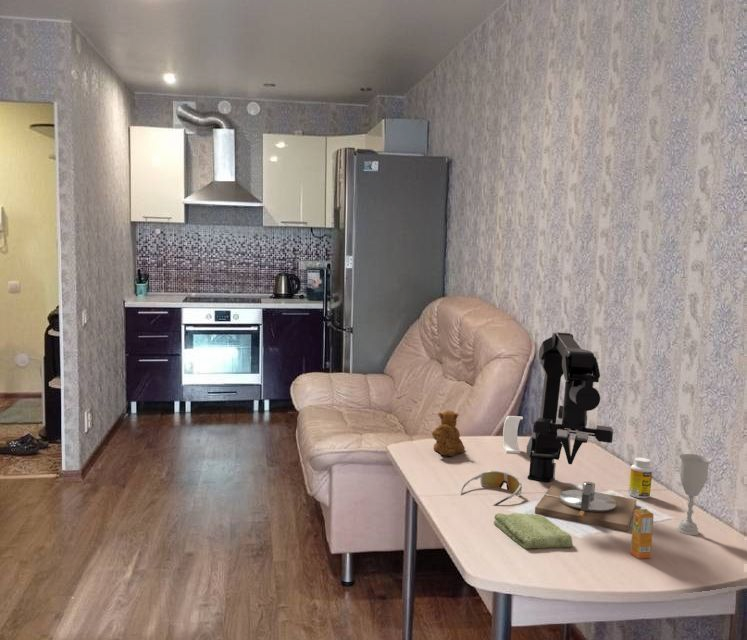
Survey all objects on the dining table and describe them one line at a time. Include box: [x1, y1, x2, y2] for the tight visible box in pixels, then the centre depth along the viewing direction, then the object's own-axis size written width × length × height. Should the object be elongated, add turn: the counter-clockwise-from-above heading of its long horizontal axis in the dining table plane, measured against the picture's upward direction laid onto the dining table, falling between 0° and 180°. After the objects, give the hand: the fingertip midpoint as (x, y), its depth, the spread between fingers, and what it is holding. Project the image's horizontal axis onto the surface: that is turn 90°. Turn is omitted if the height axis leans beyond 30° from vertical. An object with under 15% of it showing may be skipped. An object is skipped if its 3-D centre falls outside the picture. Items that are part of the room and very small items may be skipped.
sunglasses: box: [460, 469, 523, 506], centre depth 199 cm, size 14×15×5 cm
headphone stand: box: [502, 415, 524, 454], centre depth 245 cm, size 5×6×12 cm
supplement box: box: [630, 508, 654, 560], centre depth 162 cm, size 3×3×10 cm
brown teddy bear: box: [431, 410, 466, 457], centre depth 237 cm, size 10×14×13 cm
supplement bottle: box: [628, 457, 654, 500], centre depth 205 cm, size 6×6×10 cm
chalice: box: [676, 453, 712, 536], centre depth 179 cm, size 7×7×18 cm
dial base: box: [534, 483, 637, 532], centre depth 192 cm, size 22×22×2 cm
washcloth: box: [493, 512, 574, 550], centre depth 172 cm, size 13×18×3 cm
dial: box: [559, 481, 616, 512], centre depth 190 cm, size 17×14×5 cm
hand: (570, 463), depth 185 cm, fingers closed
